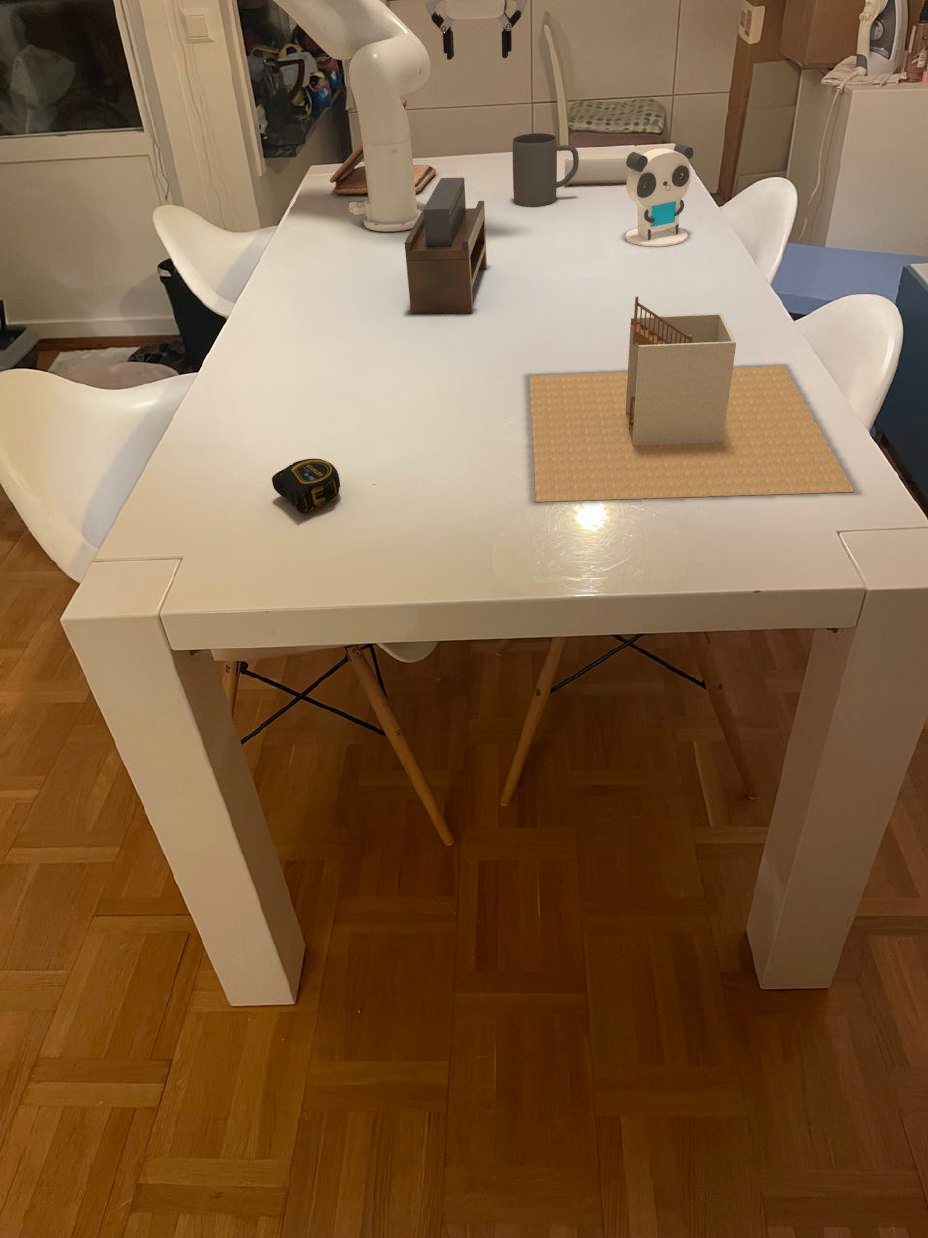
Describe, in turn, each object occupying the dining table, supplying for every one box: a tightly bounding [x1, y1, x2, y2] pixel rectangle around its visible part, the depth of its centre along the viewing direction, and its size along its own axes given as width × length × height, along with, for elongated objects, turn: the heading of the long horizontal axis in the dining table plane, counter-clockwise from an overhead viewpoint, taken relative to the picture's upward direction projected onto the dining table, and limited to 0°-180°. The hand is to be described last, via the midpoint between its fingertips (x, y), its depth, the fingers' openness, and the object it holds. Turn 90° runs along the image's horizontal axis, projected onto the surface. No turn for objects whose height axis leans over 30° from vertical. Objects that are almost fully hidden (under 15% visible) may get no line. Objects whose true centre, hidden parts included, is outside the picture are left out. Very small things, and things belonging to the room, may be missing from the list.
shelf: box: [403, 200, 488, 315], centre depth 154 cm, size 10×22×11 cm, turn 173°
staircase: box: [624, 296, 737, 446], centre depth 110 cm, size 9×11×17 cm
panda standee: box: [625, 143, 694, 248], centre depth 168 cm, size 12×11×15 cm
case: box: [329, 98, 437, 195], centre depth 207 cm, size 20×21×16 cm
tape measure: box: [271, 458, 341, 514], centre depth 106 cm, size 7×7×4 cm
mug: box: [512, 132, 580, 207], centre depth 191 cm, size 14×9×12 cm
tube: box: [564, 157, 631, 187], centre depth 201 cm, size 5×5×25 cm
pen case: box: [422, 176, 467, 246], centre depth 149 cm, size 4×18×6 cm, turn 173°
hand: (477, 57), depth 160 cm, fingers open, 9 cm apart
